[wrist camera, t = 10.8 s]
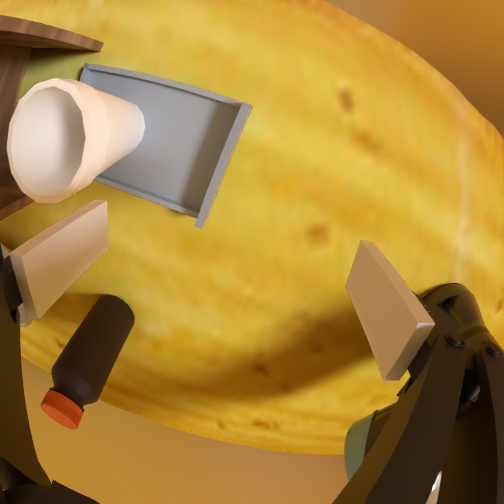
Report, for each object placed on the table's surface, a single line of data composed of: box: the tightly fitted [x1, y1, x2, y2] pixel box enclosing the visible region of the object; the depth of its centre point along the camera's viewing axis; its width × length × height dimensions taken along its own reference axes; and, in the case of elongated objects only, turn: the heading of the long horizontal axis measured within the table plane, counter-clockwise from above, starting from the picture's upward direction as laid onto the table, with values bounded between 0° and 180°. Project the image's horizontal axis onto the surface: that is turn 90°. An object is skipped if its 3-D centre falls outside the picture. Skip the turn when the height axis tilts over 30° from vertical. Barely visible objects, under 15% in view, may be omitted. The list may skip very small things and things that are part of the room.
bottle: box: [41, 295, 134, 429], centre depth 30 cm, size 7×7×20 cm
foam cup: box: [7, 78, 145, 204], centre depth 20 cm, size 10×9×13 cm
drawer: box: [79, 63, 252, 229], centre depth 26 cm, size 20×13×4 cm, turn 68°
